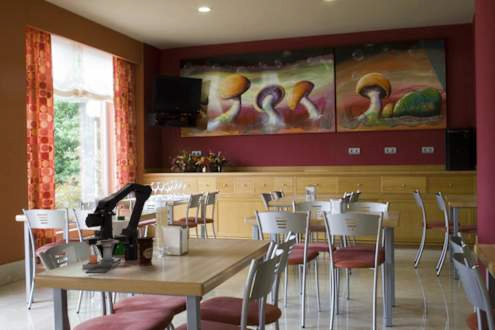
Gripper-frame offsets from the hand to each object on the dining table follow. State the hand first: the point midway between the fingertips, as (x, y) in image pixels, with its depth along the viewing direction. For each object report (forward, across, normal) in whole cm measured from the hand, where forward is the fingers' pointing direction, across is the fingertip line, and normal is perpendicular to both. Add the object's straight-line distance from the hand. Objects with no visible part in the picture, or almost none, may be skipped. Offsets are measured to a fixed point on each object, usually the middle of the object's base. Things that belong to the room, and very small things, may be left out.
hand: (107, 257), depth 265 cm
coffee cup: (+3, -15, +13) cm, 20 cm away
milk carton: (+3, -14, -27) cm, 31 cm away
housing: (+3, +3, +2) cm, 5 cm away
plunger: (+2, +8, +5) cm, 9 cm away
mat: (+3, +8, +15) cm, 17 cm away
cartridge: (+3, 0, 0) cm, 3 cm away
